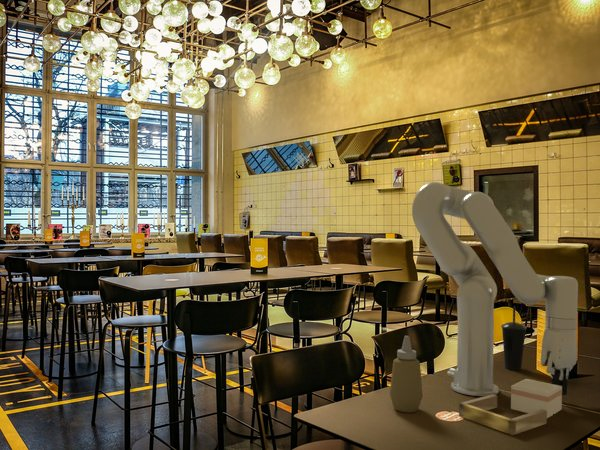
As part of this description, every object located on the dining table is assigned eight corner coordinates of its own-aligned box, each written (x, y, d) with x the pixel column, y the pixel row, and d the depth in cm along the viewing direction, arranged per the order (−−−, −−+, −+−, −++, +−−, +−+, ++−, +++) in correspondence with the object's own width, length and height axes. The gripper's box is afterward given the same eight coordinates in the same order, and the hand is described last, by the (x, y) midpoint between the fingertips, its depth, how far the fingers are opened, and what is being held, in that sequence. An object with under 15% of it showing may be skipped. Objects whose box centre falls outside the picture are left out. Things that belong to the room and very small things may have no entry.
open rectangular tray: (458, 415, 132) (459, 403, 132) (492, 406, 140) (493, 394, 140) (512, 435, 120) (512, 421, 120) (546, 423, 128) (546, 410, 128)
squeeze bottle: (382, 405, 138) (384, 334, 138) (410, 402, 142) (411, 332, 142) (401, 416, 131) (402, 340, 131) (429, 412, 134) (430, 338, 134)
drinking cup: (529, 372, 173) (531, 308, 173) (505, 371, 173) (506, 307, 173) (520, 365, 181) (521, 304, 181) (497, 365, 181) (498, 304, 181)
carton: (510, 409, 138) (510, 385, 138) (525, 401, 145) (525, 378, 145) (548, 418, 132) (548, 393, 132) (561, 410, 138) (562, 386, 138)
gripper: (562, 319, 152) (560, 385, 152) (531, 323, 143) (529, 394, 143) (589, 323, 146) (588, 393, 146) (559, 328, 137) (557, 402, 137)
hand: (559, 393), depth 144 cm, fingers closed
